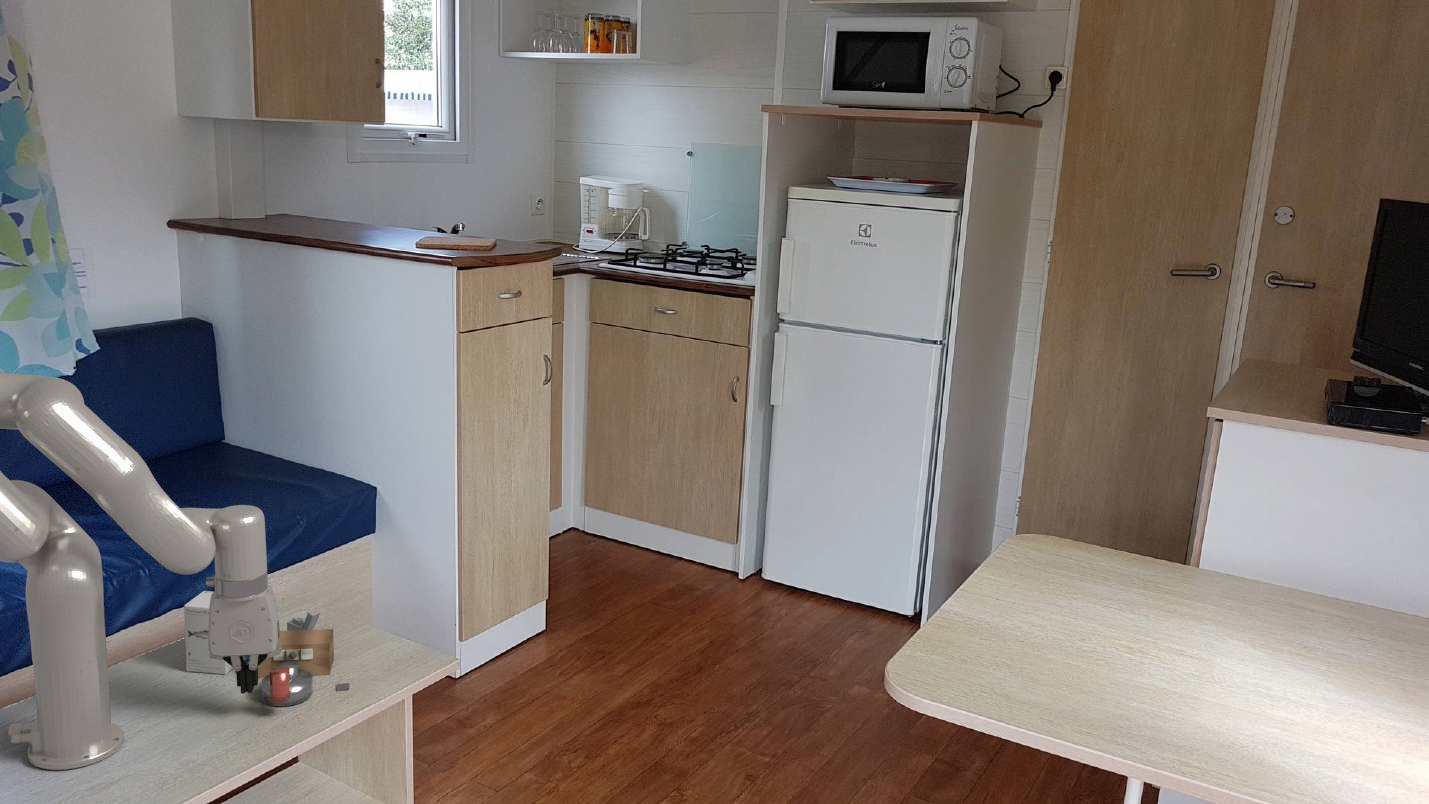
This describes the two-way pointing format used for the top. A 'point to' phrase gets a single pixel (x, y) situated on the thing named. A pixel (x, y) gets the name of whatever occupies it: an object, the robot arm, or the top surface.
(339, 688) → the dark grey square block
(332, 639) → the brown rectangular block
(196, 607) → the supplement box
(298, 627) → the lighter
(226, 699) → the top surface
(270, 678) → the red knob control stick
